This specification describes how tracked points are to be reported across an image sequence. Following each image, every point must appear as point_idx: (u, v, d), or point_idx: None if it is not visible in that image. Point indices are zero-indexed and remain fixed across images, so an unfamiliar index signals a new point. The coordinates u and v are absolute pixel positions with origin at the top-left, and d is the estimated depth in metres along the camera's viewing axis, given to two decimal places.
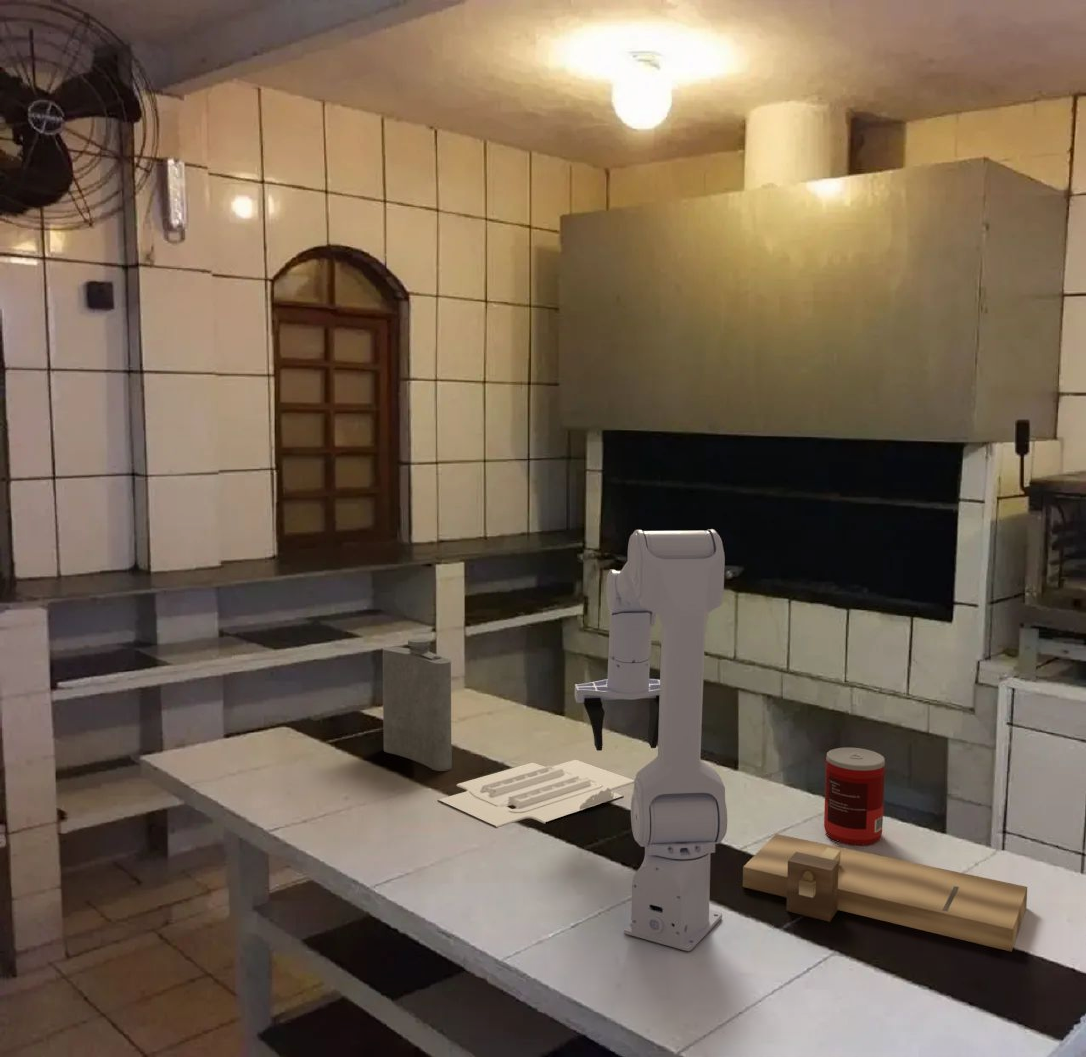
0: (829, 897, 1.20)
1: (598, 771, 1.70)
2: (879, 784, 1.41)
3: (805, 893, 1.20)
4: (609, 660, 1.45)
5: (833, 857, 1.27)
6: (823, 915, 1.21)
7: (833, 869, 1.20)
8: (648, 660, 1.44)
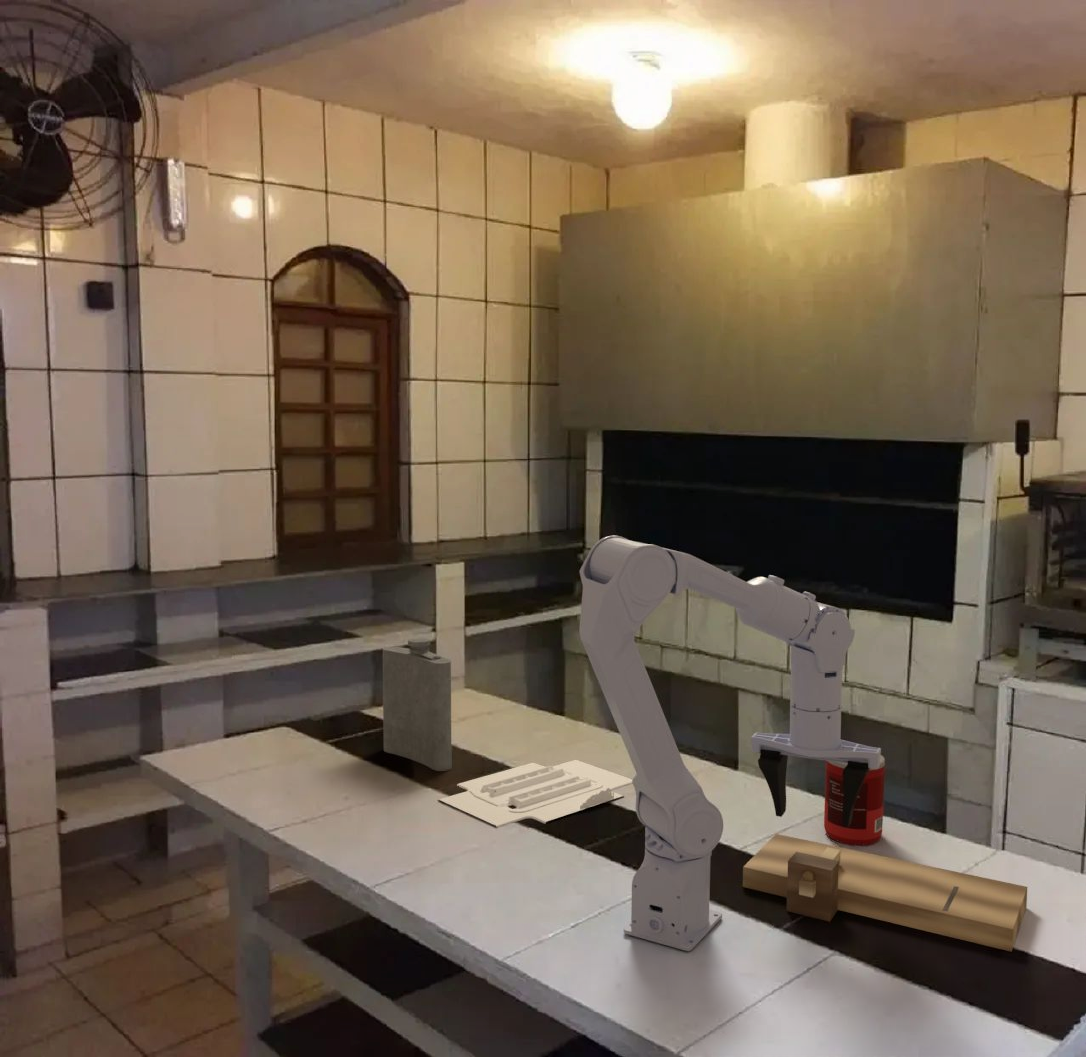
0: (829, 897, 1.20)
1: (598, 771, 1.70)
2: (879, 784, 1.41)
3: (805, 893, 1.20)
4: None
5: (833, 857, 1.27)
6: (824, 915, 1.21)
7: (833, 869, 1.20)
8: (832, 712, 1.21)
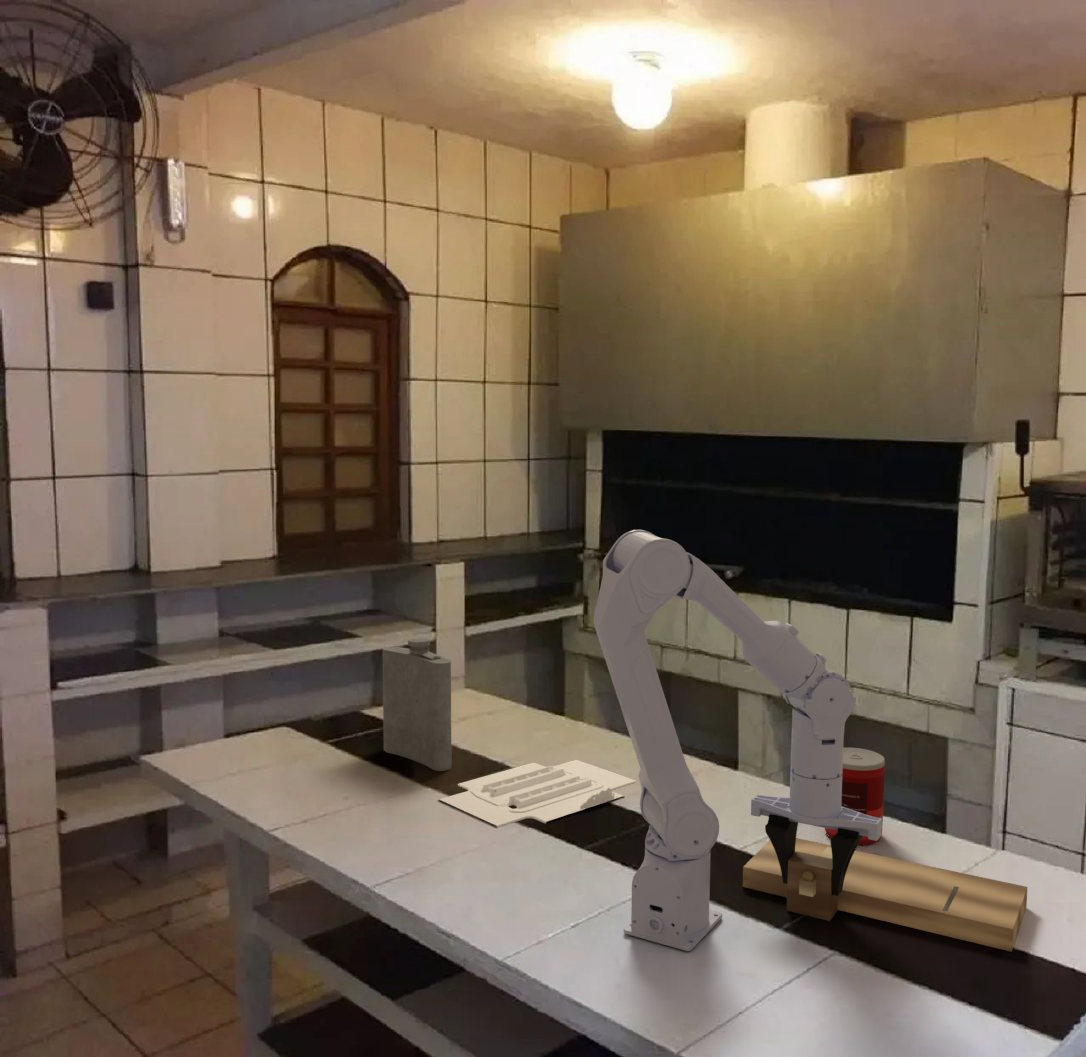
0: (829, 896, 1.20)
1: (599, 771, 1.70)
2: (879, 784, 1.41)
3: (805, 892, 1.20)
4: None
5: None
6: (824, 915, 1.21)
7: None
8: (831, 780, 1.18)
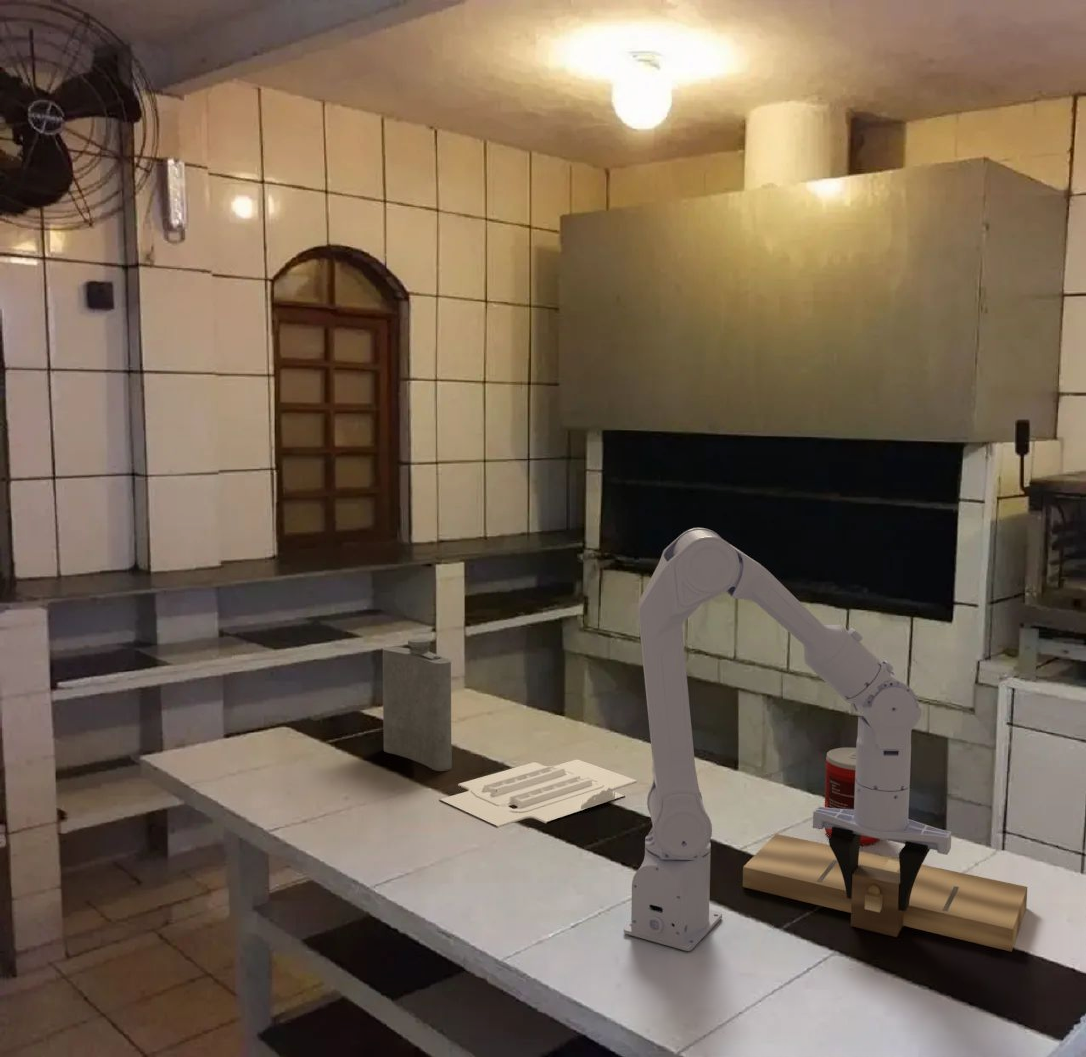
0: (896, 912, 1.16)
1: (600, 770, 1.70)
2: None
3: (871, 908, 1.17)
4: None
5: (896, 870, 1.23)
6: (890, 931, 1.17)
7: None
8: (899, 792, 1.15)
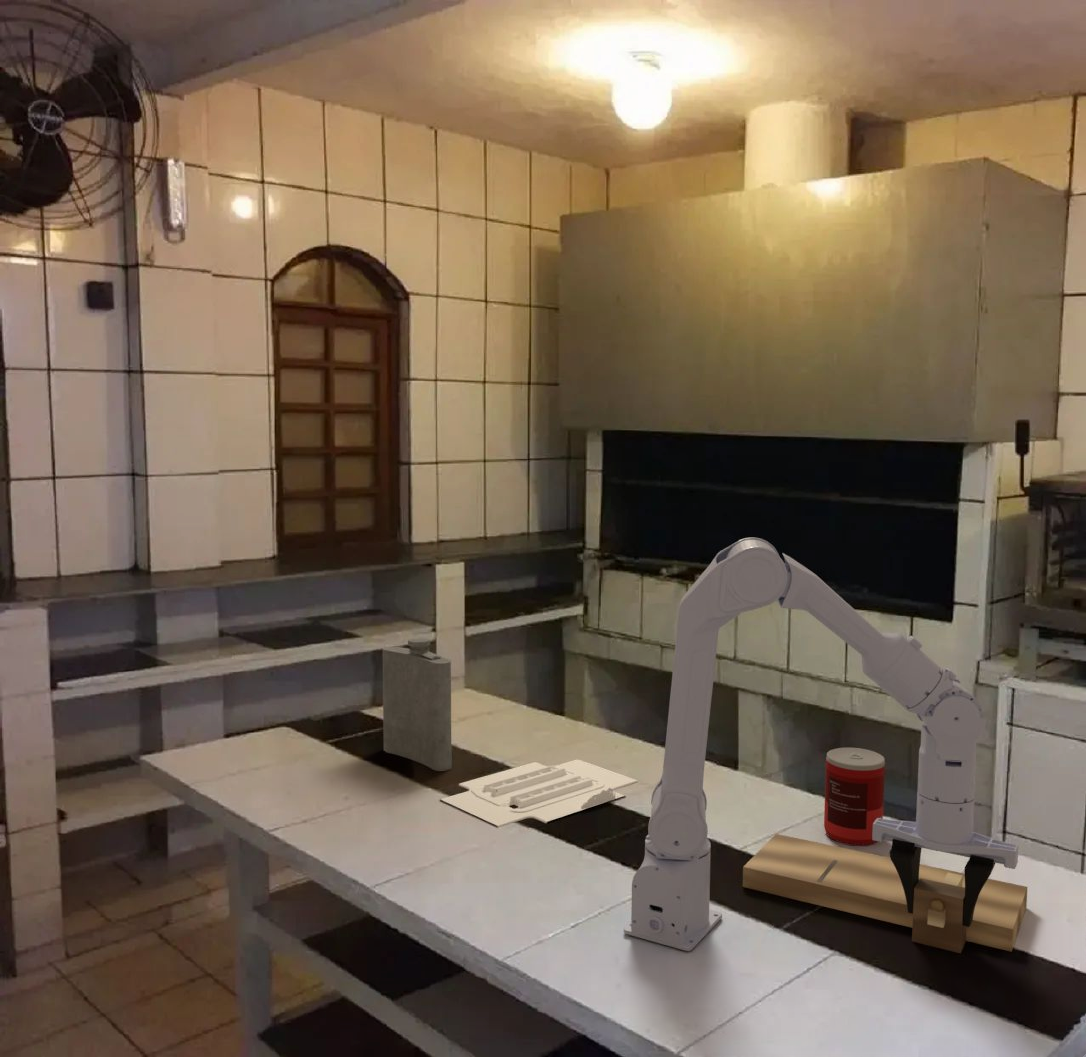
0: (960, 927, 1.13)
1: (600, 770, 1.70)
2: (879, 784, 1.41)
3: (934, 923, 1.13)
4: None
5: (957, 883, 1.20)
6: (954, 947, 1.13)
7: (964, 897, 1.13)
8: (965, 804, 1.11)
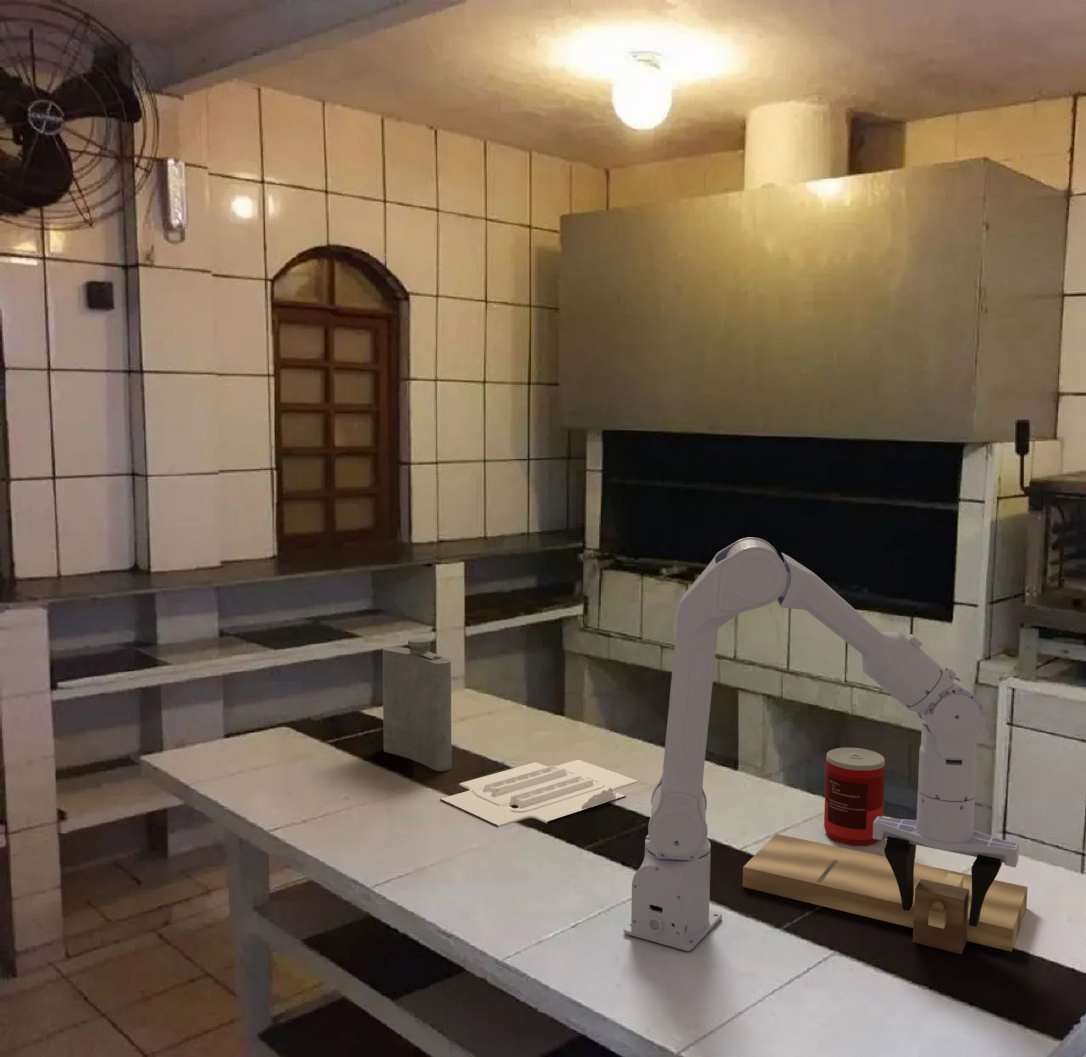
0: (961, 928, 1.13)
1: (601, 771, 1.70)
2: (879, 784, 1.41)
3: (935, 924, 1.13)
4: None
5: (958, 884, 1.20)
6: (955, 947, 1.13)
7: (965, 898, 1.13)
8: (965, 802, 1.11)
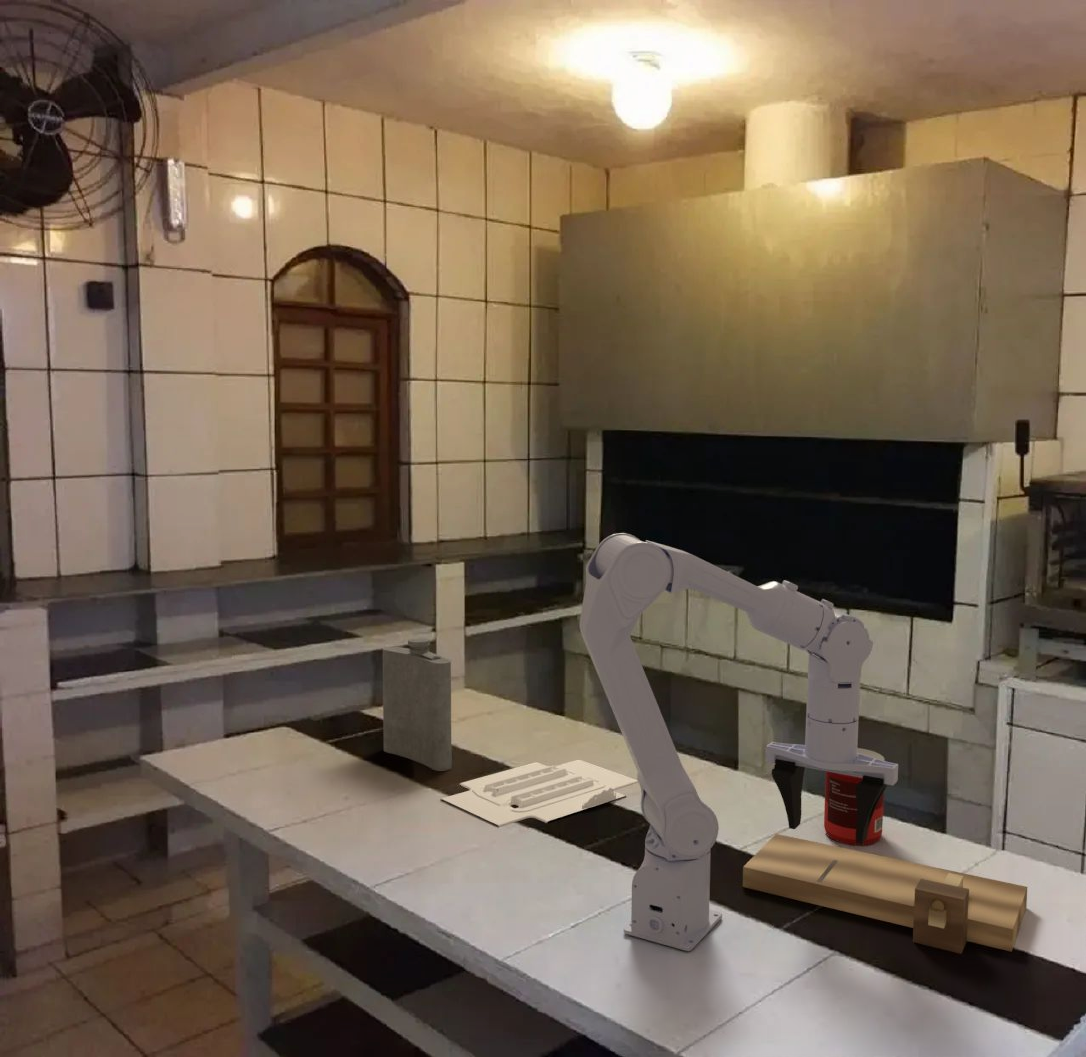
0: (961, 928, 1.13)
1: (601, 770, 1.70)
2: None
3: (935, 923, 1.13)
4: None
5: (958, 884, 1.20)
6: (955, 947, 1.13)
7: (965, 898, 1.13)
8: (848, 724, 1.18)
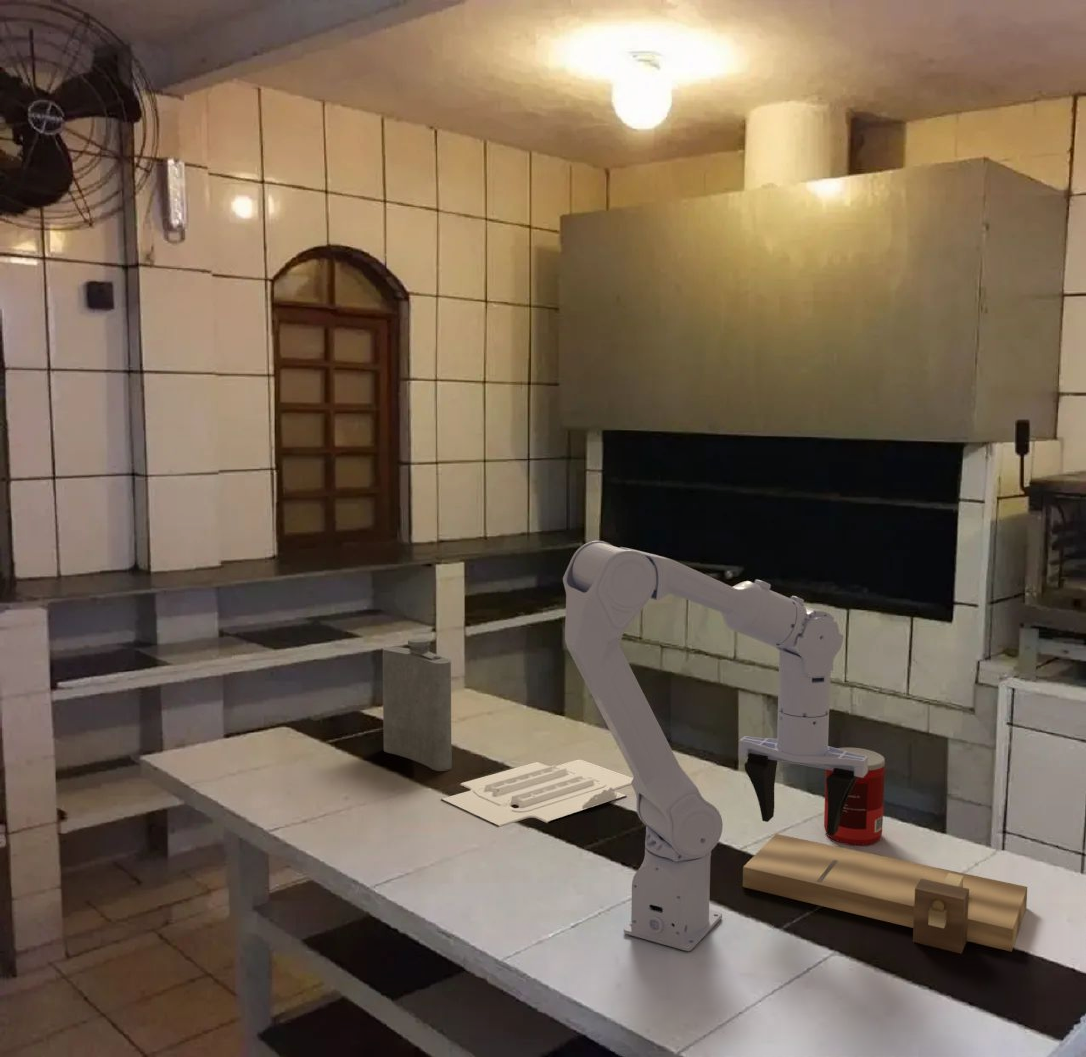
0: (961, 928, 1.13)
1: (602, 770, 1.70)
2: (879, 784, 1.41)
3: (935, 923, 1.13)
4: None
5: (958, 883, 1.20)
6: (955, 947, 1.13)
7: (965, 898, 1.13)
8: (818, 718, 1.20)
